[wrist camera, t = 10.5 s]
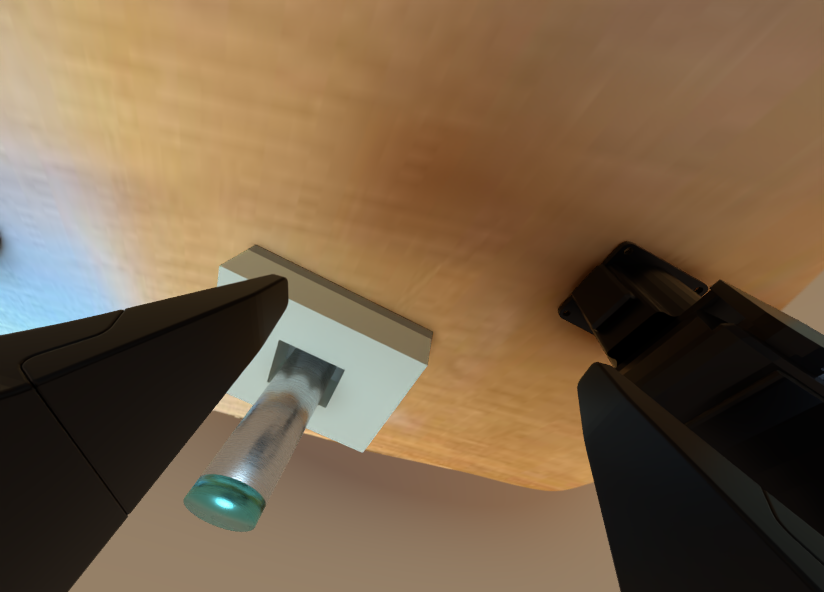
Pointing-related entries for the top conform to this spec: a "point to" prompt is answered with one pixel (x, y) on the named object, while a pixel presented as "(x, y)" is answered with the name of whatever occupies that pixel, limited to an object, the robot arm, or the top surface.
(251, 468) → the pin
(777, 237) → the top surface
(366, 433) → the socket block
